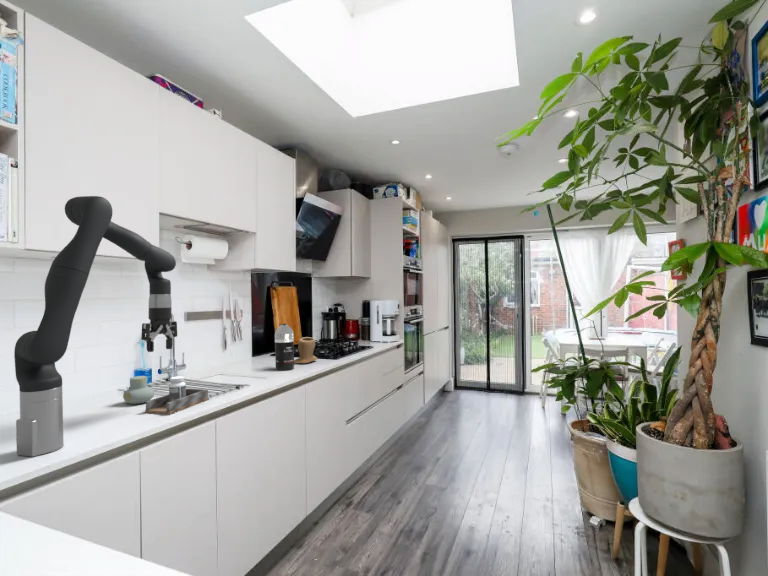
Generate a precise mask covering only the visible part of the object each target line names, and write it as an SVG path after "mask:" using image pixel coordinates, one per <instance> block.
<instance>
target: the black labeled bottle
mask: <svg viewBox="0 0 768 576" xmlns="http://www.w3.org/2000/svg"><path fill="white" fill-rule="evenodd" d="M294 334H295V333H294V330H293V329H292V327H290V326H289V325H288V324H287V323H282V324H280V326H278V327H277V328H276V330H275V333H274V351H275V352H274V353H275V355H274V358H275V360H274V363H275V370H277V371H289V370H290V371H291V370H293V369H294V368H295V362H294V360H295V347H294V345H295V344H294V342H295V339H294V337H295V335H294Z"/></svg>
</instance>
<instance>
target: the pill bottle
mask: <svg viewBox="0 0 768 576" xmlns="http://www.w3.org/2000/svg"><path fill="white" fill-rule="evenodd" d="M184 380H185V377H184V376H183V375H182V376H181V375H179V376H177V375H176V376H172V377H170V379H169V382H170V384H169V385H168V394H169V402H171V401H174V400H177V399H180V398H183V397H186V389H187V384H186V382H185V381H184Z"/></svg>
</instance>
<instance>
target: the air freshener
mask: <svg viewBox="0 0 768 576" xmlns="http://www.w3.org/2000/svg"><path fill="white" fill-rule="evenodd" d="M122 397H123V401H124V402H125V403H127V404H129V405H140V404H144V403H145V404H146V402H147V401H150V400H153V399H154V397H155V391H154V389H153V388H152V387H150V386H148V376H147V375H137V376H136V375H135V376H132V377H130V378H129V388H128V389H127V390H126V391H124V392H123V395H122Z"/></svg>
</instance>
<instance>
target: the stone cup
mask: <svg viewBox="0 0 768 576" xmlns="http://www.w3.org/2000/svg"><path fill="white" fill-rule="evenodd" d="M297 347H298V353H299V357H298V358H296V359H294V363H296V364H309V363H311V362H313V361H316V360H318V359H319V358H318V357H317V356H315V355H314V351H315V349H316V339H315V338H314V337H309V336H305V337H304V336H303V337H301V338H299V340H298V346H297Z"/></svg>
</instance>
